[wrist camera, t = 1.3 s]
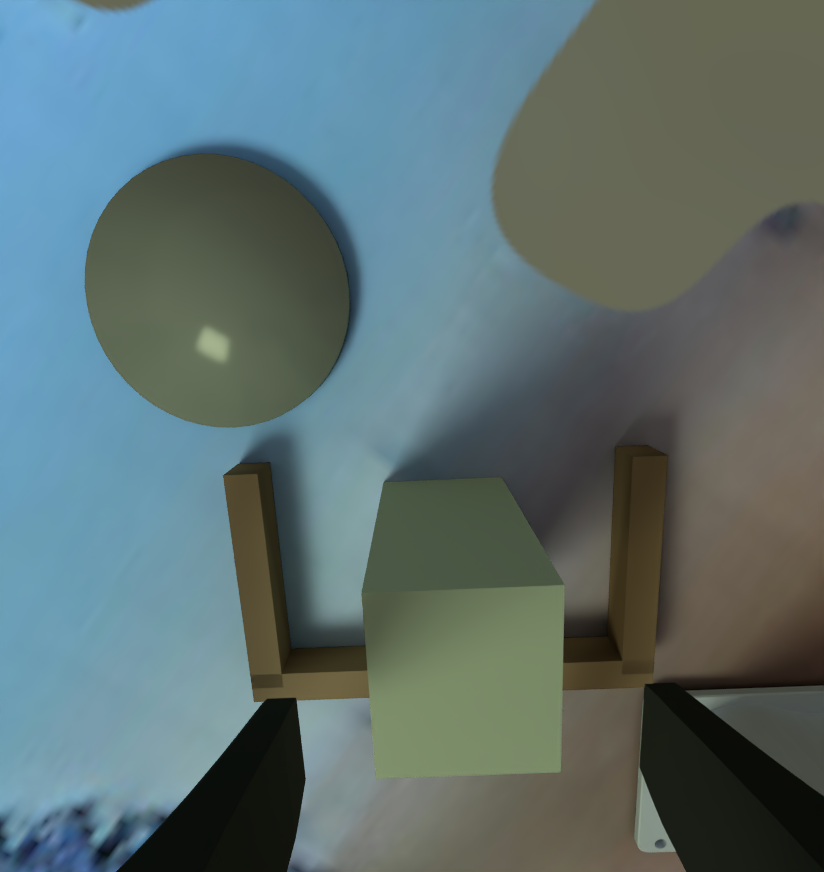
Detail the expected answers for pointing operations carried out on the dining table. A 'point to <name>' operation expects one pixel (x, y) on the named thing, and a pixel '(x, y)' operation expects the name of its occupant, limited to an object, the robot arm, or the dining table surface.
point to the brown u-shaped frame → (347, 666)
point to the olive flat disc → (217, 290)
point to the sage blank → (461, 634)
